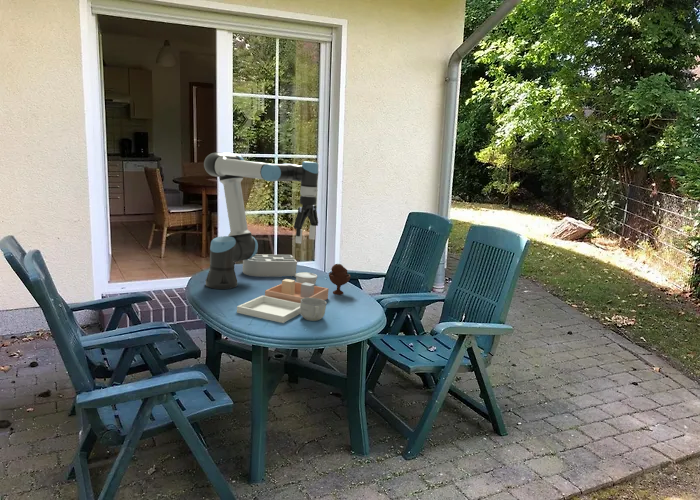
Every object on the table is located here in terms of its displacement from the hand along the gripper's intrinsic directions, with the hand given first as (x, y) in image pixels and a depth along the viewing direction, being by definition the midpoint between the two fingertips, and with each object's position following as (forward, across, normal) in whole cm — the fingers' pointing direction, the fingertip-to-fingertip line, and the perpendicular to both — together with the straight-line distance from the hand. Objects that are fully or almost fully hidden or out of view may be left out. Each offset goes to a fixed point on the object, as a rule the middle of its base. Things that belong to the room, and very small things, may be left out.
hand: (305, 241), depth 252 cm
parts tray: (+27, -29, -1) cm, 39 cm away
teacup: (+27, -28, -20) cm, 43 cm away
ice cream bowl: (+27, +16, -12) cm, 34 cm away
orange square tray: (+27, -6, -1) cm, 27 cm away
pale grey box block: (+26, -6, -6) cm, 28 cm away
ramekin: (+27, +20, +8) cm, 35 cm away
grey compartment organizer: (+27, +28, +35) cm, 53 cm away
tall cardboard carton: (+26, -6, +4) cm, 27 cm away
